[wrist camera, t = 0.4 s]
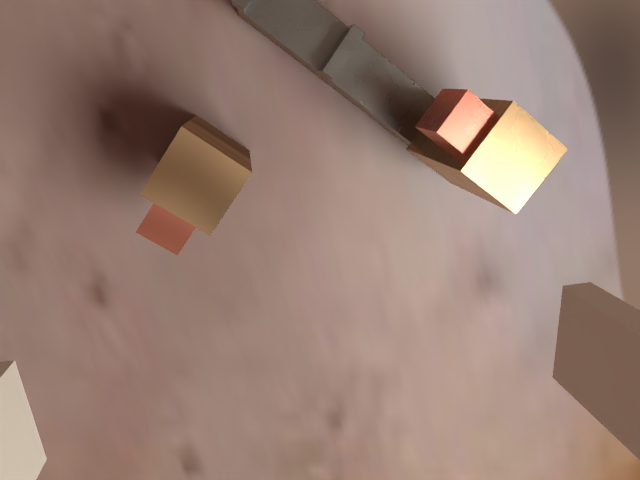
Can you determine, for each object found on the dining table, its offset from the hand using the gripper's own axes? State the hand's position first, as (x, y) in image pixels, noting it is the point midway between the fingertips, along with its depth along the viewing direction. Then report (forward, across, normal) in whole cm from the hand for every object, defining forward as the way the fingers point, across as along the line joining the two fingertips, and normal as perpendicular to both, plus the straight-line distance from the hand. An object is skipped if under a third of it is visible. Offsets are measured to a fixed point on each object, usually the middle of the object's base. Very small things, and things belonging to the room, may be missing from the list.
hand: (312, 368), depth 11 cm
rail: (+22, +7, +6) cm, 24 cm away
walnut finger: (+22, -4, +2) cm, 23 cm away
